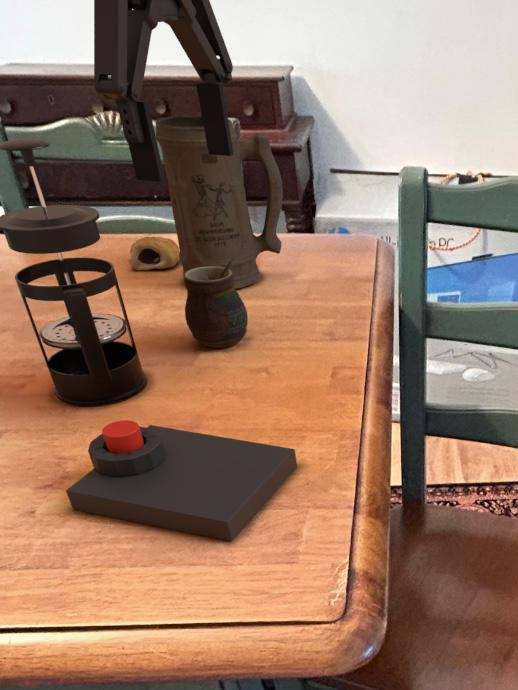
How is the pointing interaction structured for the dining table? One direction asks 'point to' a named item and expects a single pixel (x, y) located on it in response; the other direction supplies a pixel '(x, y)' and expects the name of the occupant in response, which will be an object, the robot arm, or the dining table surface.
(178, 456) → the scale
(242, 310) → the mate gourd
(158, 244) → the pastry
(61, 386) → the french press
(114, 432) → the button
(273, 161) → the beer stein
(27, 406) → the dining table surface
